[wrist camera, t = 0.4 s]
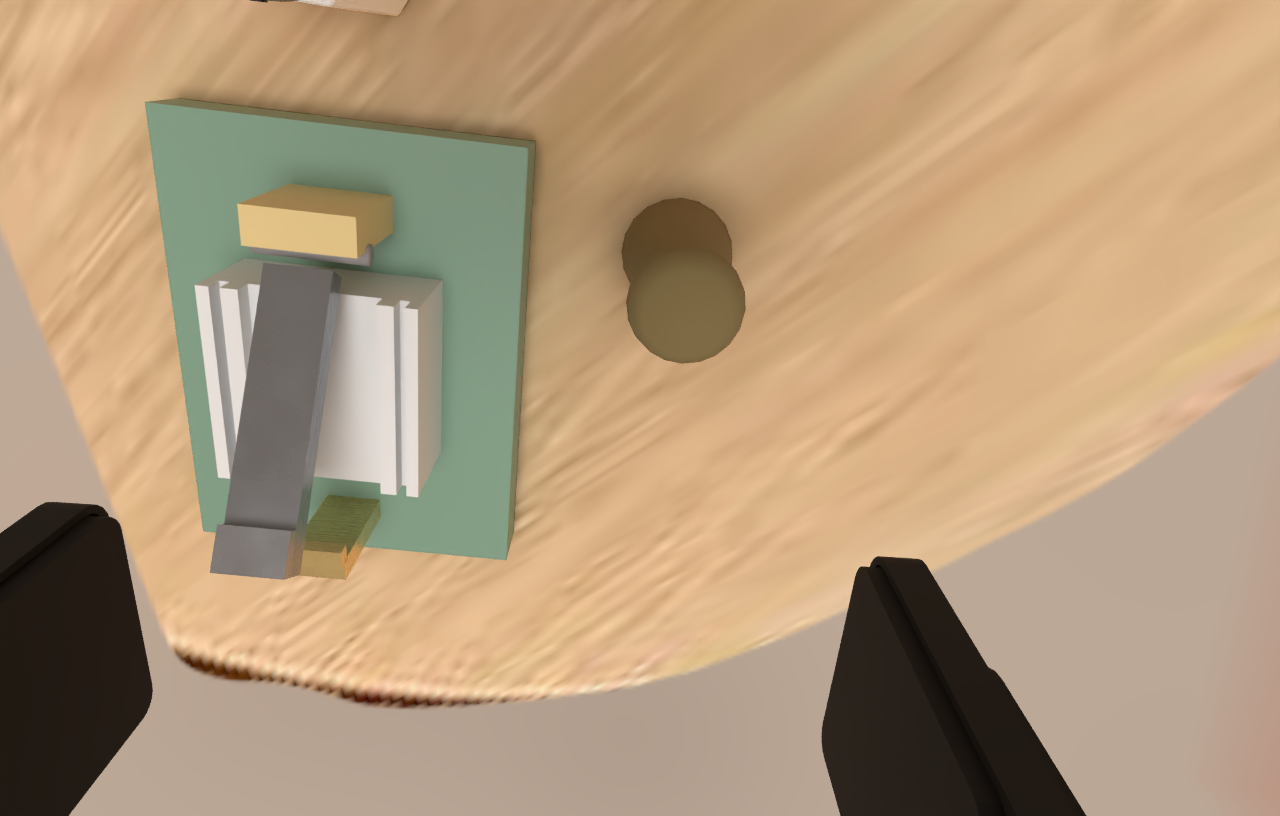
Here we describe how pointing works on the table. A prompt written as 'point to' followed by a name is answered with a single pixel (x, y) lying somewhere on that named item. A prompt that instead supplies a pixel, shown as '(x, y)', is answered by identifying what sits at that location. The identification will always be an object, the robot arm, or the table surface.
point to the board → (431, 240)
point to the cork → (682, 281)
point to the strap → (279, 424)
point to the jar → (358, 5)
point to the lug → (338, 535)
